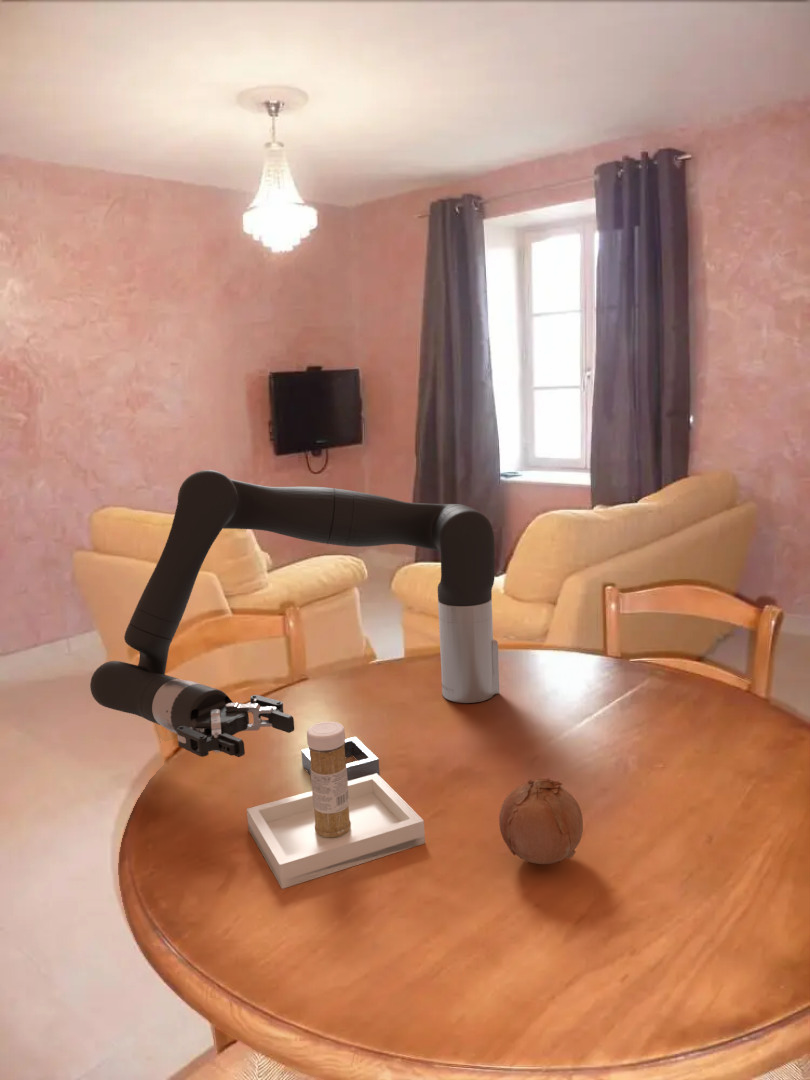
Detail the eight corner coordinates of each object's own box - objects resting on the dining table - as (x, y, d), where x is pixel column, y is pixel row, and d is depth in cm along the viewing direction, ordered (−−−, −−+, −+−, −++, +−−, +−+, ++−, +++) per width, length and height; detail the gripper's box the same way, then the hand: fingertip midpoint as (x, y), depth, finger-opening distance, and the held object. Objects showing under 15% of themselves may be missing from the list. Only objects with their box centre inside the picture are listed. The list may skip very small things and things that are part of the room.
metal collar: (356, 751, 125) (355, 736, 125) (379, 775, 118) (378, 758, 117) (302, 765, 122) (301, 750, 121) (322, 790, 114) (321, 774, 114)
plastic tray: (378, 793, 112) (376, 773, 112) (425, 843, 100) (423, 820, 99) (248, 830, 105) (246, 808, 104) (281, 889, 93) (279, 864, 92)
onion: (549, 829, 102) (547, 754, 100) (601, 867, 93) (600, 786, 91) (484, 853, 97) (481, 775, 95) (533, 895, 89) (531, 810, 87)
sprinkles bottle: (337, 815, 105) (330, 716, 103) (358, 829, 102) (351, 727, 99) (307, 829, 103) (299, 728, 100) (328, 843, 99) (320, 739, 96)
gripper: (145, 701, 111) (221, 729, 101) (228, 669, 122) (305, 691, 112) (151, 753, 113) (227, 785, 103) (233, 717, 124) (309, 743, 113)
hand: (268, 736), depth 107 cm, fingers open, 8 cm apart
